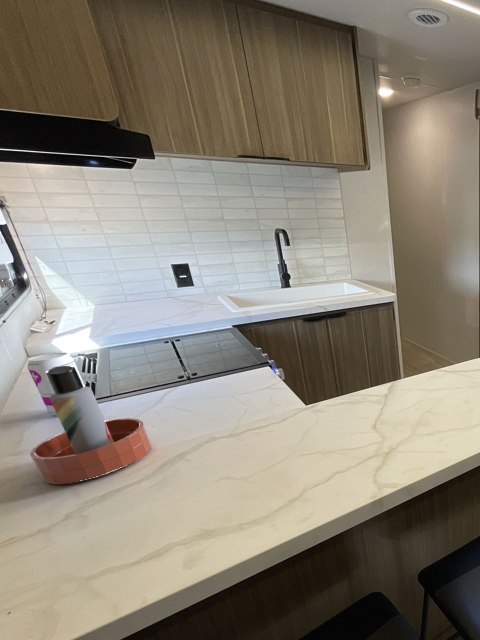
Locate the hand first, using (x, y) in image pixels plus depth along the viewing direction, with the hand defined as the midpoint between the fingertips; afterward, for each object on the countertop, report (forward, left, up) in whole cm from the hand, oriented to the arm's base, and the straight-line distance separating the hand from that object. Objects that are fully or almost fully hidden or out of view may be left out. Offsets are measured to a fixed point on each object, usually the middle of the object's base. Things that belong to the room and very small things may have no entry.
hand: (1, 289), depth 79 cm
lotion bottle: (+6, -18, -34) cm, 39 cm away
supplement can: (-2, +24, -34) cm, 42 cm away
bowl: (+6, -18, -34) cm, 39 cm away
